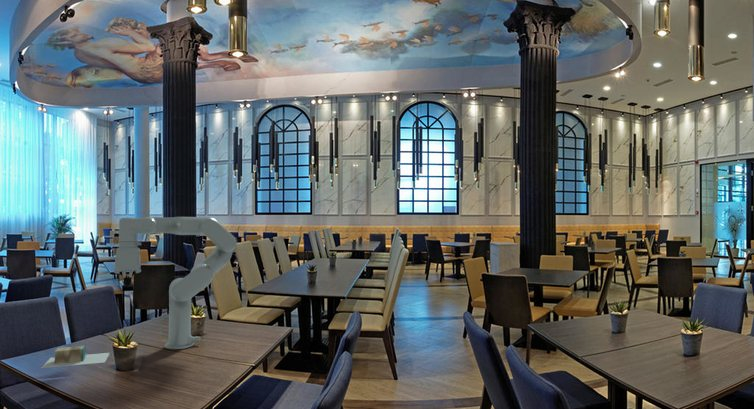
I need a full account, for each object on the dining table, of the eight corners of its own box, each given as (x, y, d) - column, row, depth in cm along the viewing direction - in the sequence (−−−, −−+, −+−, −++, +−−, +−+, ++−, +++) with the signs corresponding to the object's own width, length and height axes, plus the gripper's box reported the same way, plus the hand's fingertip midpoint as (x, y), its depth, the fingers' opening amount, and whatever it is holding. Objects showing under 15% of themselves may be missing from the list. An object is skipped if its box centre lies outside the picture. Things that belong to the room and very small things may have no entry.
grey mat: (110, 354, 209) (110, 352, 209) (104, 364, 196) (104, 362, 196) (50, 359, 201) (50, 357, 201) (41, 370, 188) (41, 368, 188)
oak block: (85, 345, 202) (57, 347, 198) (83, 349, 197) (54, 351, 194) (85, 357, 202) (57, 360, 198) (83, 361, 197) (54, 363, 194)
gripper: (147, 244, 221) (146, 284, 221) (110, 244, 215) (109, 285, 215) (146, 245, 214) (145, 286, 214) (108, 246, 209) (107, 288, 208)
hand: (127, 286), depth 215 cm, fingers closed
